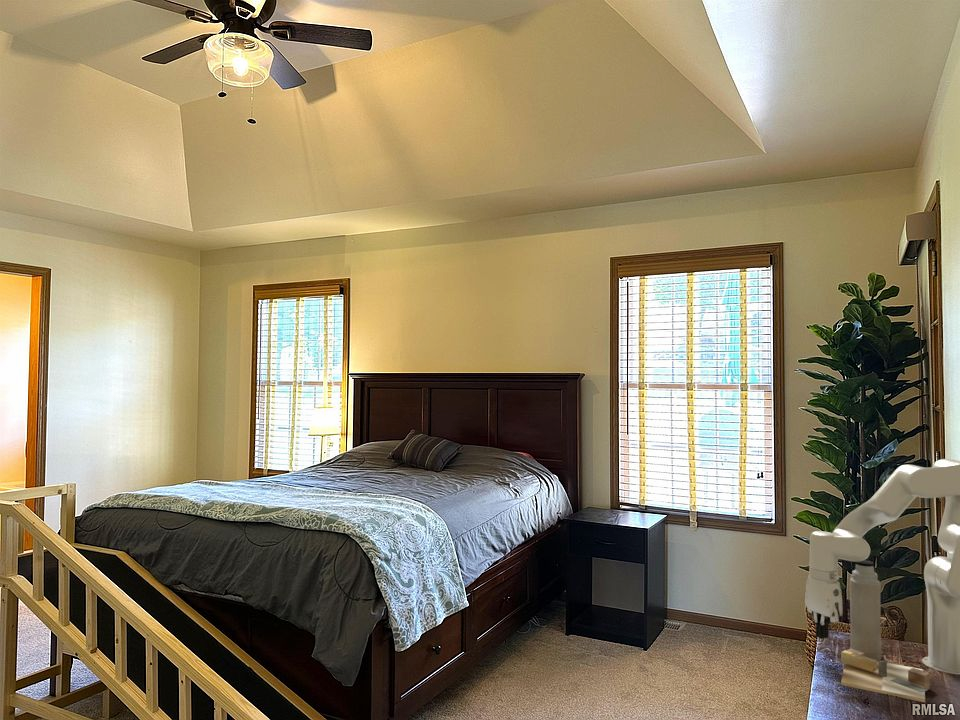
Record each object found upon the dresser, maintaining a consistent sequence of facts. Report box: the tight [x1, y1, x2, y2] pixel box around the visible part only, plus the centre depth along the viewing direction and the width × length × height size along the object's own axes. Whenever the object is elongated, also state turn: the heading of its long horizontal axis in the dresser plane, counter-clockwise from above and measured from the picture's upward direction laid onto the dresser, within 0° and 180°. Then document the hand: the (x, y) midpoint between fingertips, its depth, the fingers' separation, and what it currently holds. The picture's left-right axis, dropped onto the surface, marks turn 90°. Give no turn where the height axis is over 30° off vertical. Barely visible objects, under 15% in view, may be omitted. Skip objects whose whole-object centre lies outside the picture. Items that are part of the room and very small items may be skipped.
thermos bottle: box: [849, 559, 882, 661], centre depth 208 cm, size 8×8×28 cm
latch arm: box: [840, 649, 877, 672], centre depth 196 cm, size 8×2×3 cm, turn 39°
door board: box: [840, 648, 931, 703], centre depth 191 cm, size 21×20×5 cm
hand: (822, 637), depth 206 cm, fingers closed
